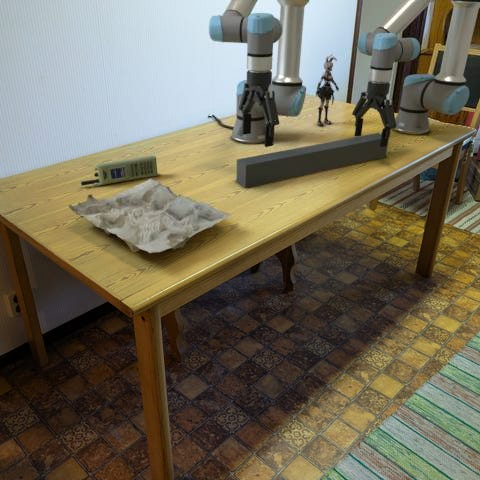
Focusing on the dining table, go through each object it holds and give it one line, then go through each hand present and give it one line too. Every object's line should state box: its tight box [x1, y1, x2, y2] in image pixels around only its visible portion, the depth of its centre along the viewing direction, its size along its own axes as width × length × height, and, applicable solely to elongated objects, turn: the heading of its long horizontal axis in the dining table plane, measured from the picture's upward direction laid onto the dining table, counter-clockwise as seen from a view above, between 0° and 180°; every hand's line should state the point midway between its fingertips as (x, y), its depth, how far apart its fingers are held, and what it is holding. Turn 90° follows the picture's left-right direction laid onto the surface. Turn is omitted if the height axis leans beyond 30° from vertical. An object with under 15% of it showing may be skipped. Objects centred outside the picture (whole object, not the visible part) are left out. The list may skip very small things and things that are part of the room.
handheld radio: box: [80, 155, 159, 187], centre depth 164 cm, size 7×3×25 cm
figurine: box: [315, 53, 340, 127], centre depth 218 cm, size 15×6×30 cm, turn 132°
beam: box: [236, 132, 390, 188], centre depth 176 cm, size 61×6×8 cm, turn 119°
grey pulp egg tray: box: [68, 178, 232, 254], centre depth 138 cm, size 38×6×30 cm
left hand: (257, 139), depth 161 cm, fingers open, 13 cm apart
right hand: (370, 141), depth 185 cm, fingers open, 13 cm apart
